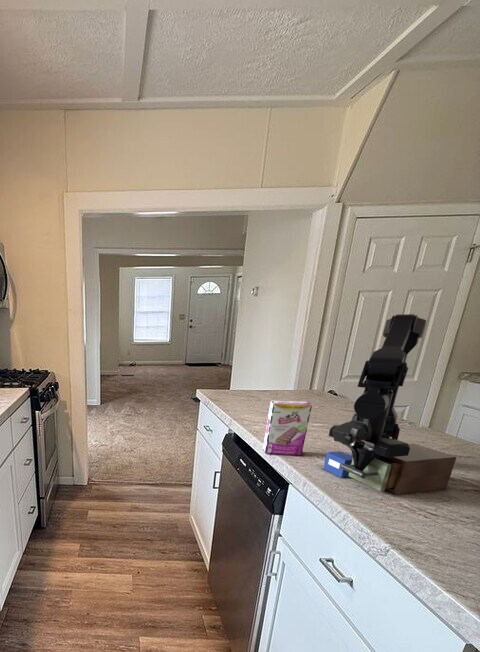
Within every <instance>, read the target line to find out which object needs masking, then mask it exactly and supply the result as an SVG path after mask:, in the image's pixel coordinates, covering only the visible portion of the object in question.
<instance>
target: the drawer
mask: <svg viewBox="0 0 480 652" xmlns="http://www.w3.org/2000/svg"><path fill="white" fill-rule="evenodd" d="M401 465H402V463H400V462H397V461H394V460H392V459H389V458H386V457H384V456H381V455H378V456H377V457H376V458H374V459H373V460H372V461H371V463H370V464H369V465H368V466H367V467H366V468H365V469H364V470H363V471H360V470H358V469H356V468H355V467H354V461H353V459H352V463H351V465H347V464H345V463H343V464H342V465H341V466H340V467H341V469H343V470H345V471H348V472H349V477H348V478H352V479H353V480H356V481H358V482H360V483H362V484H364V485H366V486H368V487H371V488H373V489H374V490H375V491H379V492H385V490H386V489H385V487H386V488H394V487H395V485H396V482H397V478H398V475H399V472H400V468H401Z"/></svg>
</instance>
